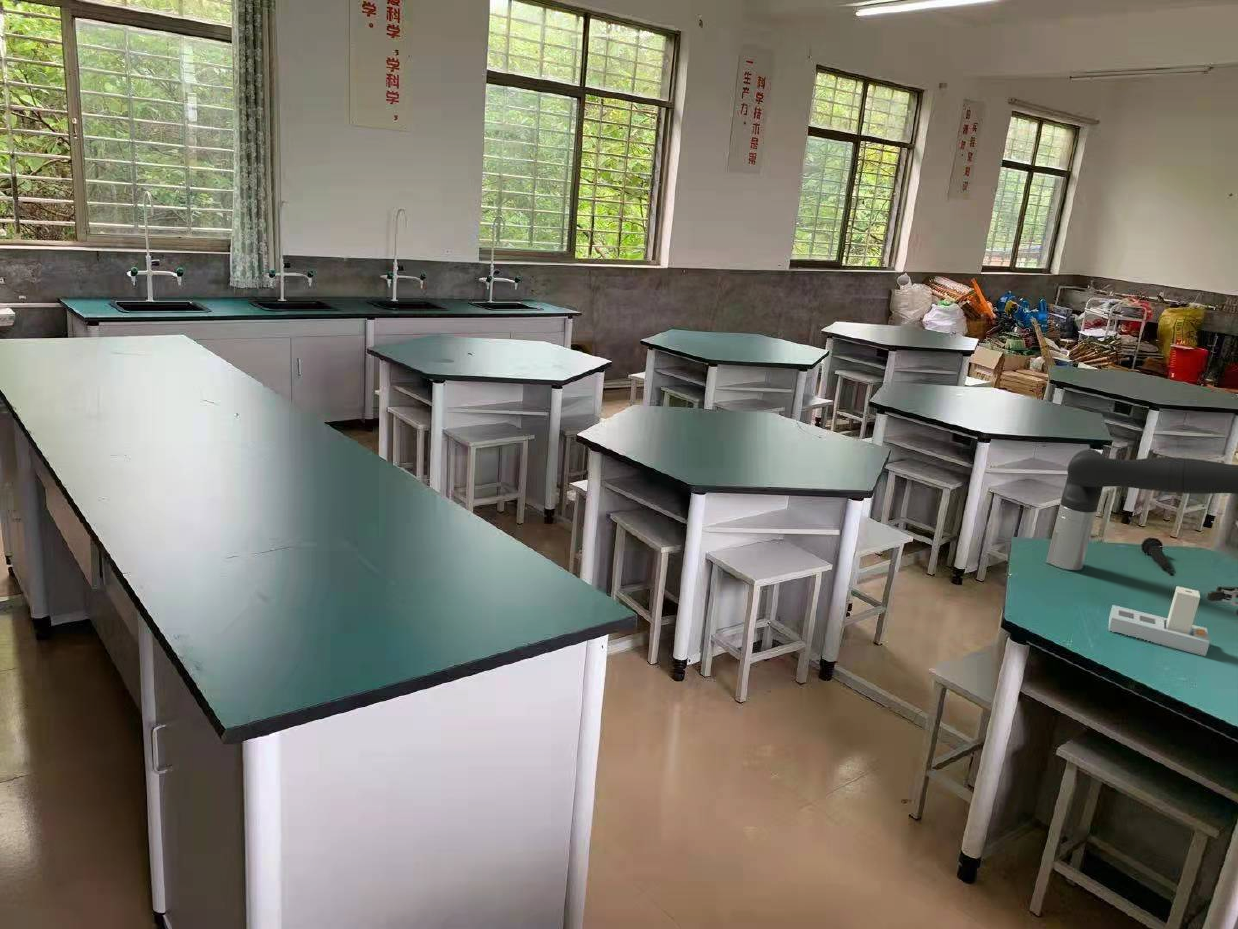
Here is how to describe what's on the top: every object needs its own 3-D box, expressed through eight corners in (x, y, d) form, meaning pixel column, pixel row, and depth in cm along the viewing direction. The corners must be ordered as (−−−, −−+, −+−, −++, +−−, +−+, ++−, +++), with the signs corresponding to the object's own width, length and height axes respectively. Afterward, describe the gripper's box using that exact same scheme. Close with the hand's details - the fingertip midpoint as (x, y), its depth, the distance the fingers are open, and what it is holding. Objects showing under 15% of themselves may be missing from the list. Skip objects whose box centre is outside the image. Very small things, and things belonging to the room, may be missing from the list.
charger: (1164, 639, 214) (1177, 591, 210) (1163, 632, 218) (1176, 585, 214) (1186, 644, 212) (1200, 597, 208) (1185, 637, 216) (1198, 590, 212)
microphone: (1174, 586, 258) (1151, 553, 276) (1186, 570, 256) (1163, 538, 274) (1156, 578, 259) (1134, 546, 277) (1168, 562, 256) (1146, 531, 274)
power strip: (1108, 631, 217) (1112, 615, 216) (1109, 617, 225) (1113, 602, 224) (1205, 656, 208) (1210, 640, 207) (1202, 641, 216) (1207, 626, 215)
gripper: (1259, 576, 223) (1203, 576, 220) (1311, 602, 210) (1253, 602, 206) (1250, 604, 225) (1195, 605, 222) (1302, 631, 212) (1244, 632, 209)
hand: (1223, 604), depth 214 cm, fingers open, 8 cm apart
